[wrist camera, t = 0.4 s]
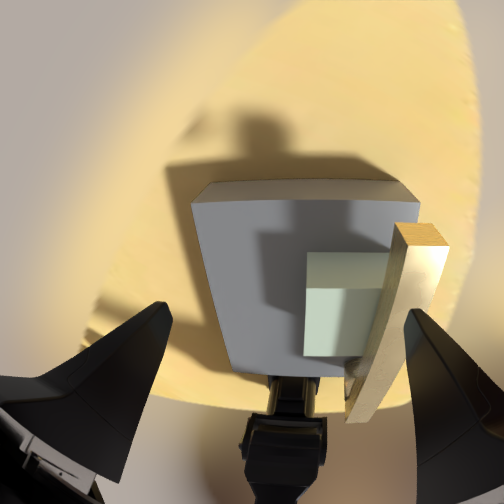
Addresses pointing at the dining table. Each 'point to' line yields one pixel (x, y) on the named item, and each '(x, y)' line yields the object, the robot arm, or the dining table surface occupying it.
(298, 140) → the dining table surface
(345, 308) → the rectangular block
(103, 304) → the dining table surface
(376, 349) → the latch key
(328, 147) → the dining table surface
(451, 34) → the dining table surface
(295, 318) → the box
